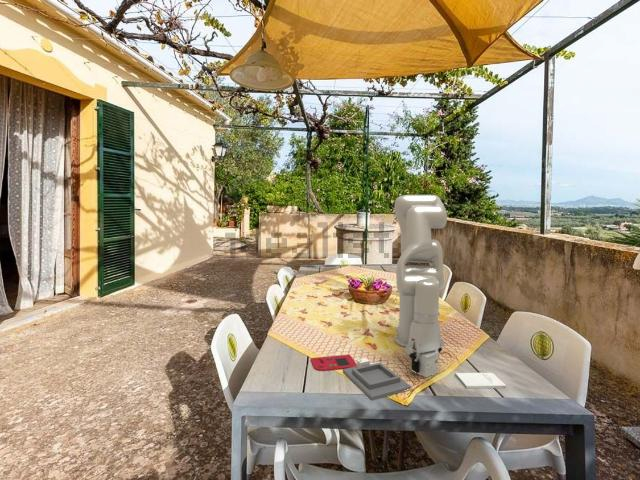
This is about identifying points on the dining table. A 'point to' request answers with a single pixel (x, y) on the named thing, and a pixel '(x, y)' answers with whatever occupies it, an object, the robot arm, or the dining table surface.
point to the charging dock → (375, 379)
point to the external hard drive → (479, 380)
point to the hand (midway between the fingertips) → (424, 368)
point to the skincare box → (428, 363)
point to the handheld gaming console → (333, 362)
